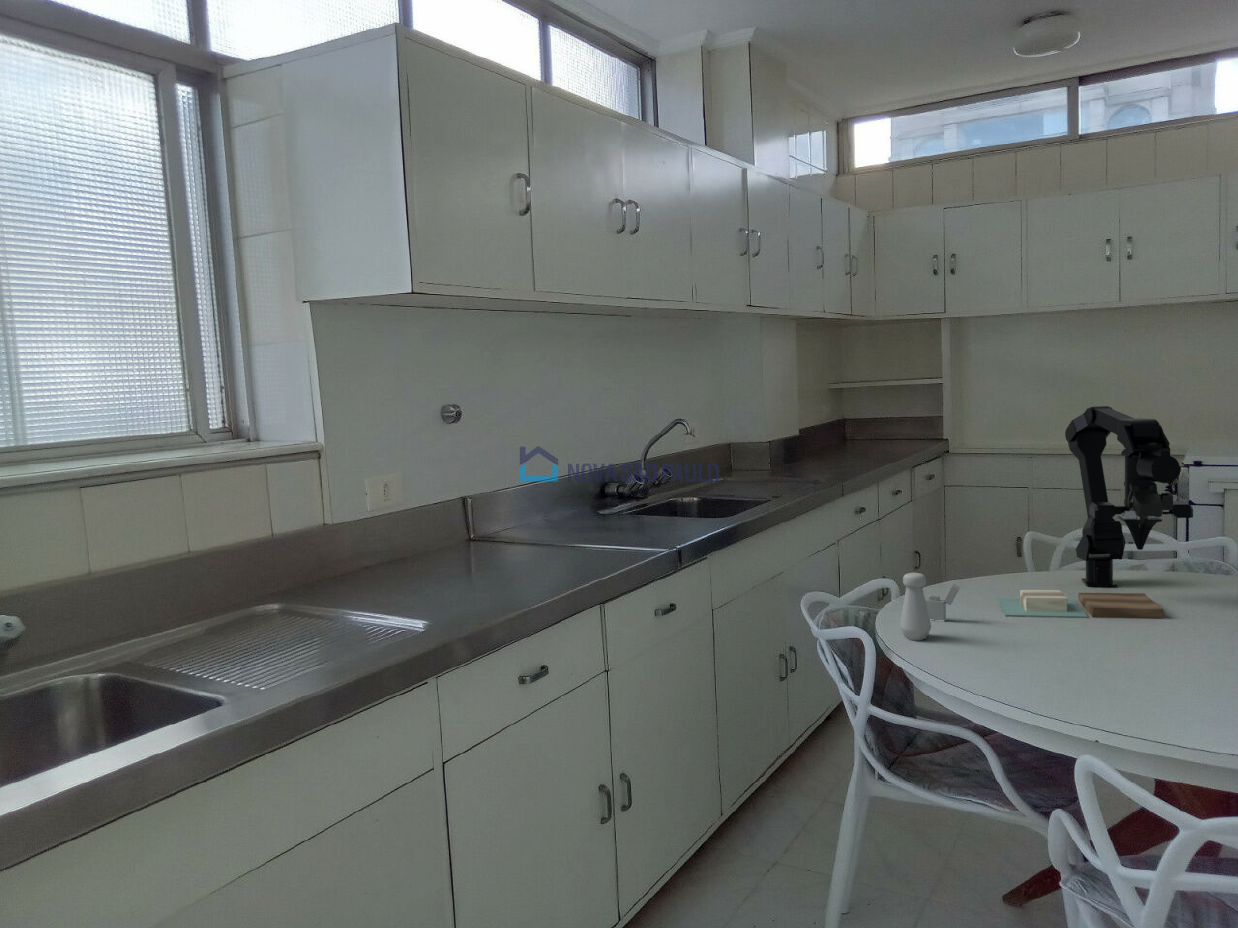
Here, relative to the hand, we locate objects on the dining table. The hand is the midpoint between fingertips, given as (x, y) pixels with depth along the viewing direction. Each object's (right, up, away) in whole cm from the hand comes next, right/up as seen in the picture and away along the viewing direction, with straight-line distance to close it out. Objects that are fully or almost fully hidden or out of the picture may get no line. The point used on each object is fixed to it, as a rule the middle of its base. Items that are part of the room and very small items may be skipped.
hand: (1139, 549), depth 194 cm
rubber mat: (-21, -13, +2) cm, 25 cm away
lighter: (-44, -15, -4) cm, 47 cm away
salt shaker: (-53, -16, -15) cm, 58 cm away
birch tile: (-20, -13, +1) cm, 24 cm away
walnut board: (-6, -13, -3) cm, 14 cm away
